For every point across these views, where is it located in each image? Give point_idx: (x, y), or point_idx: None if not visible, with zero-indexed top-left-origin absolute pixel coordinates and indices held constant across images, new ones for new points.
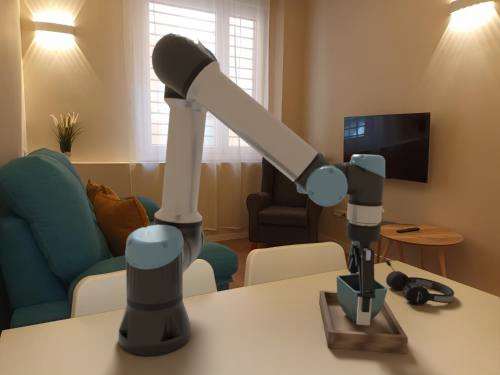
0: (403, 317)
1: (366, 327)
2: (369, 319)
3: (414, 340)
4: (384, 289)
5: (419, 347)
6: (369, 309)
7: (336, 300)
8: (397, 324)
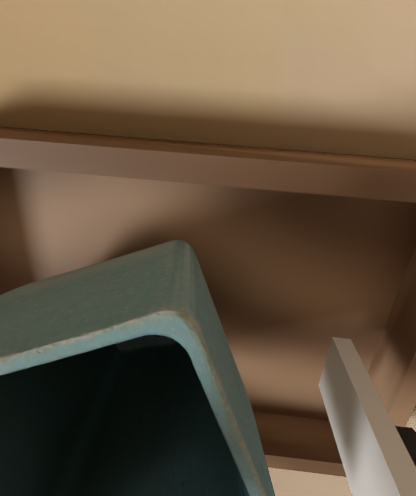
0: (55, 13)
1: (245, 287)
2: (362, 366)
3: (334, 59)
4: (204, 349)
5: (409, 60)
6: (388, 425)
7: None
8: (344, 181)
